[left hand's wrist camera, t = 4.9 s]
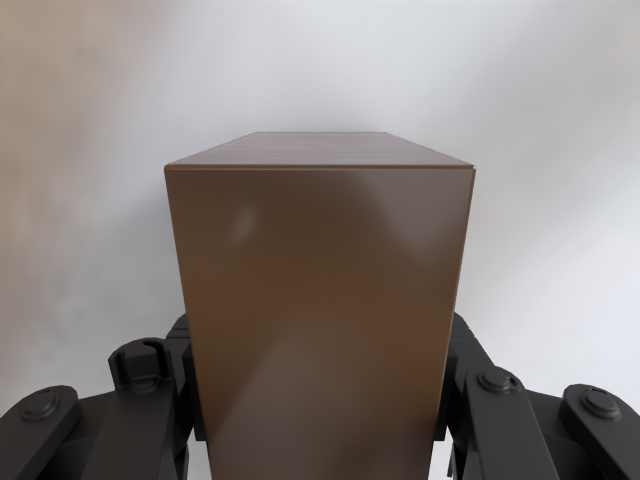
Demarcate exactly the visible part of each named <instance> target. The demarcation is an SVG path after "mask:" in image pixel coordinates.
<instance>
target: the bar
mask: <svg viewBox="0 0 640 480" xmlns="http://www.w3.org/2000/svg"><path fill="white" fill-rule="evenodd" d="M164 173H165V180H166V186H167V193H168V199H169V206H170V212H171V219H172V225H173V232H174V238H175V245H176V251H177V257H178V264H179V270H180V277H181V283H182V290H183V296H184V303H185V309H186V316H187V322H188V329H189V335H190V342H191V348H192V354H193V361H194V367H195V374H196V380H197V387H198V393H199V400H200V406H201V413H202V419H203V426H204V432H205V439H206V445H207V451H208V458H209V464H210V471H211V477H212V480H428V476H429V469H430V463H431V456H432V450H433V444H434V437H435V431H436V424H437V418H438V411H439V405H440V399H441V392H442V386H443V379H444V373H445V366H446V360H447V354H448V347H449V341H450V334H451V328H452V321H453V315H454V309H455V302H456V296H457V289H458V283H459V276H460V270H461V264H462V257H463V251H464V244H465V238H466V231H467V225H468V218H469V212H470V206H471V199H472V193H473V186H474V180H475V173H476V167H475V166H474V165H472V164H469V163H467V162H464V161H461V160H459V159H456V158H453V157H451V156H448V155H445V154H442V153H440V152H437V151H434V150H432V149H429V148H426V147H424V146H421V145H418V144H416V143H413V142H410V141H408V140H405V139H402V138H399V137H397V136H394V135H391V134H389V133H386V132H255V133H253V134H250V135H247V136H244V137H241V138H239V139H236V140H233V141H230V142H228V143H225V144H222V145H219V146H217V147H214V148H211V149H208V150H206V151H203V152H200V153H197V154H195V155H192V156H189V157H186V158H184V159H181V160H178V161H175V162H173V163H170V164H167V165H165V167H164Z"/></svg>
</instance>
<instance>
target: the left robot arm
mask: <svg viewBox="0 0 640 480" xmlns="http://www.w3.org/2000/svg"><path fill="white" fill-rule="evenodd" d="M108 362H109V366H110V370H111V374H112V378H113V382H114V385H115V390H114V391H111V392H108V393H105V394H100V395H96V396H92V397H87V398H83V399H79V398H78V395H77V392H76V390H74V389H73V388H72V387H70V386H64V385H60V386H52V387H48V388H45V389H42V390H39V391H36V392H34V393H32V394H30V395H29V396H27V397H25V398H23V399H22V400H20V401H19V402H18V403H17V404H15V405H14V406H13V407H12V408H11V409H10V410H9V411H7V412H6V413H5V414H4V415H3V416H2V417H1V418H0V480H187V473H188V462H189V451H188V445H187V441H188V438H189V436H190V433H191V431H192V428H193V427H194V433H195V439H196V441H206V439H205V432H204V426H203V419H202V413H201V406H200V400H199V393H198V387H197V380H196V374H195V367H194V361H193V354H192V348H191V342H190V335H189V329H188V322H187V316H186V313H185V314H184V315H182V316H181V317H180V318H178V320H177V321H176V323H175V324H174V326H173V327H172V330H170V332H169V333H168V335H167V336H166V339H160V338H156V337H154V338H142V339H138V340H134V341H132V342H129V343H127V344H125V345H123V346H121V347H120V348H118V349H117V350H116V351H114V352H113V353H112V355H111V356H110V357H109V359H108ZM447 426H448V428H449V431H450V433H451V436H452V438H453V445H452V451H451V456H450V462H449V467H448V473H447V477H451V478H452V473H453V480H640V416H639V415H638V414H637V413H636V412H635V411H634V410H633V409H632V408H631V407H630V406H629V405H627V404H626V403H625V402H624V401H622V400H621V399H620V398H619V397H617V396H615V395H613V394H611V393H609V392H608V391H606V390H603V389H600V388H597V387H594V386H591V385H584V384H575V385H569V386H568V387H567V388H566V389H565V390H564V393H563V396H562V398H559V397H555V396H551V395H546V394H542V393H538V392H534V391H530V390H527V389H525V387H524V386H523V384H522V383H521V381H520V380H519V379H518V378H517V377H516V376H514V375H513V374H512V373H511V372H509V371H507V370H505V369H503V368H501V367H497V366H495V365H494V364H493V362H492V361H491V359H490V358H489V356H488V355H487V353H486V352H485V351H484V349H483V348H482V346H481V345H480V343H479V342H478V340H477V339H476V338H475V337H474V334H473V333H472V331H471V330H470V329H469V327H468V325H467V324H466V322H465V321H464V319H463V318H462V317H461V316H460V315H458V314H457V313H455V312H454V315H453V321H452V328H451V334H450V341H449V347H448V354H447V360H446V366H445V373H444V379H443V386H442V392H441V399H440V405H439V411H438V418H437V424H436V431H435V437H434V441H444V440H445V434H446V428H447Z"/></svg>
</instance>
